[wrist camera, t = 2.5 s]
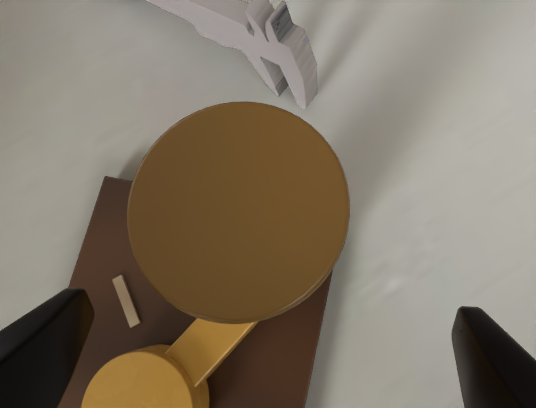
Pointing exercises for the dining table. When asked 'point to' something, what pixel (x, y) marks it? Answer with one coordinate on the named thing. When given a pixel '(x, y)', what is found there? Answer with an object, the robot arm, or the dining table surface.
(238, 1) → the caliper
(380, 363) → the dining table surface
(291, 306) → the yellow crank handle
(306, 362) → the plate
